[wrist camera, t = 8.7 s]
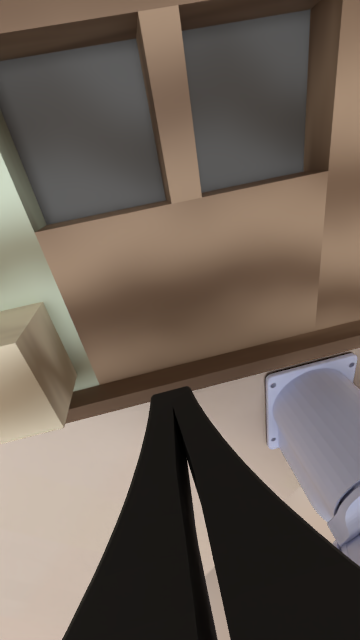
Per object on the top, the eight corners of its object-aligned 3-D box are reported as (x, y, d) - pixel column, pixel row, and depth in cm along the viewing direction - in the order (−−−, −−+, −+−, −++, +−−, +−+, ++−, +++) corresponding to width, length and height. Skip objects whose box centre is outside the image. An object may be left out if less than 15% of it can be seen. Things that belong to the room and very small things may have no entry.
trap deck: (372, 306, 21) (420, 331, 18) (9, 396, 19) (-16, 444, 16) (441, -41, 12) (564, -125, 9) (-212, 63, 11) (-378, 8, 7)
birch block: (77, 374, 16) (63, 427, 13) (-7, 395, 16) (-43, 455, 13) (42, 301, 14) (15, 342, 11) (-57, 324, 14) (-119, 374, 10)
